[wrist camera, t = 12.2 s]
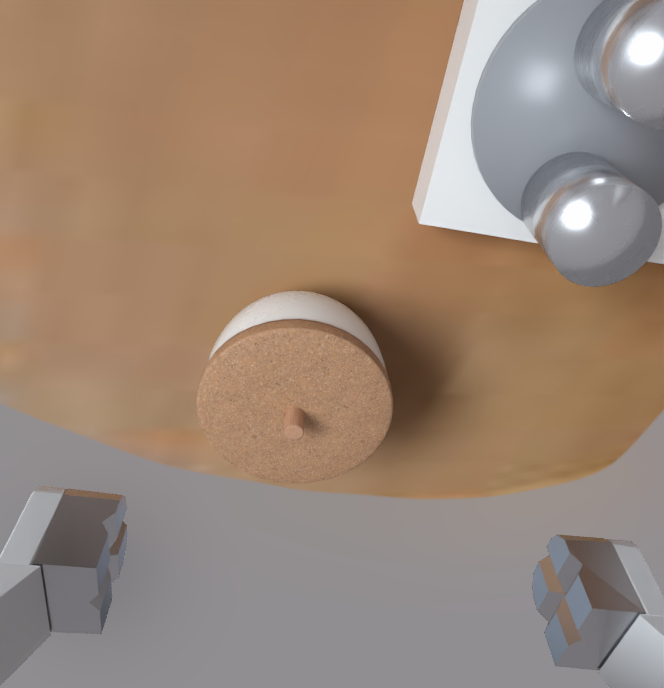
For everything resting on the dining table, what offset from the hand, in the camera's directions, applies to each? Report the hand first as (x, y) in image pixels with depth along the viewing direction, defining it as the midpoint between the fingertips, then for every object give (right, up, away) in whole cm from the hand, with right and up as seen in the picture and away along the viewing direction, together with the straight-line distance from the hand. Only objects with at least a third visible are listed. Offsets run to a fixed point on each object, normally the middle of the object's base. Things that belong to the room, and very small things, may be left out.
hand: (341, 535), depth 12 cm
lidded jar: (-2, +4, +29) cm, 29 cm away
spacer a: (+12, +11, +20) cm, 26 cm away
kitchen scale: (+13, +17, +21) cm, 29 cm away
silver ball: (+13, +17, +16) cm, 27 cm away
